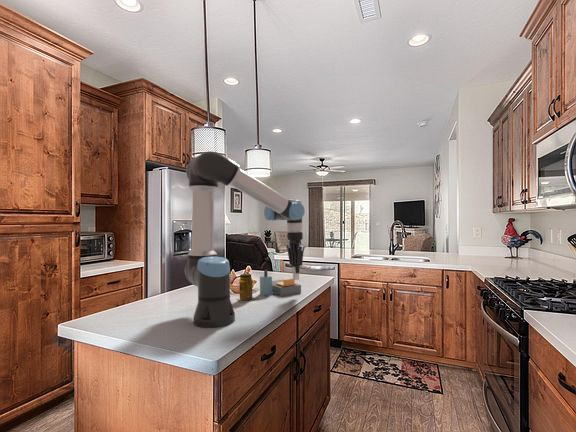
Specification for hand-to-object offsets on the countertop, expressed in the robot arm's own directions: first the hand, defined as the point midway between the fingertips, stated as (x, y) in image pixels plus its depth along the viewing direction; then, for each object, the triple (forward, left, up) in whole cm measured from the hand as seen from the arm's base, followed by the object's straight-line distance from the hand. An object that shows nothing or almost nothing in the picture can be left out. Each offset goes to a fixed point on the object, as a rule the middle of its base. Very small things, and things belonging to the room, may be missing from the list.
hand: (296, 279), depth 154 cm
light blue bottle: (+12, +10, -8) cm, 18 cm away
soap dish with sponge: (+13, 0, -8) cm, 15 cm away
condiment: (+8, +22, -8) cm, 25 cm away
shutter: (+9, 0, -4) cm, 10 cm away
